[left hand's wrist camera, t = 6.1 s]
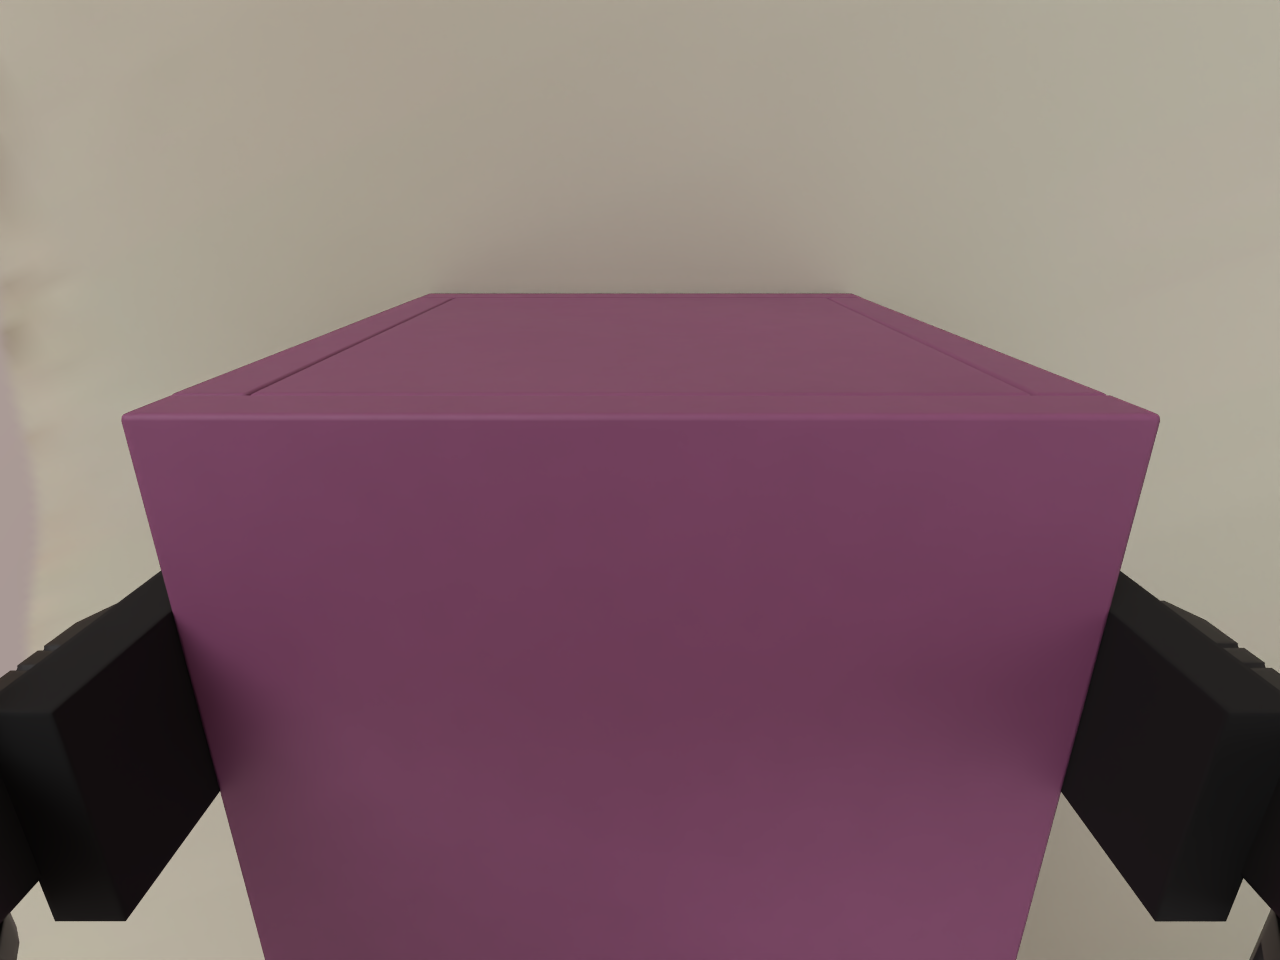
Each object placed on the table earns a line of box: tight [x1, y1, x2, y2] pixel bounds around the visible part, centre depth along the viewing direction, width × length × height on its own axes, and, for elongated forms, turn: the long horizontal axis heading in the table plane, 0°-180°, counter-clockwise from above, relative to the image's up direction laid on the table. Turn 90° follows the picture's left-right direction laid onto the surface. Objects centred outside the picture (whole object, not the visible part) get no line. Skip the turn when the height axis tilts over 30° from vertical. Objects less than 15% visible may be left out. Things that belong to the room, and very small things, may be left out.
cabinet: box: [122, 294, 1160, 960], centre depth 16 cm, size 16×11×12 cm
